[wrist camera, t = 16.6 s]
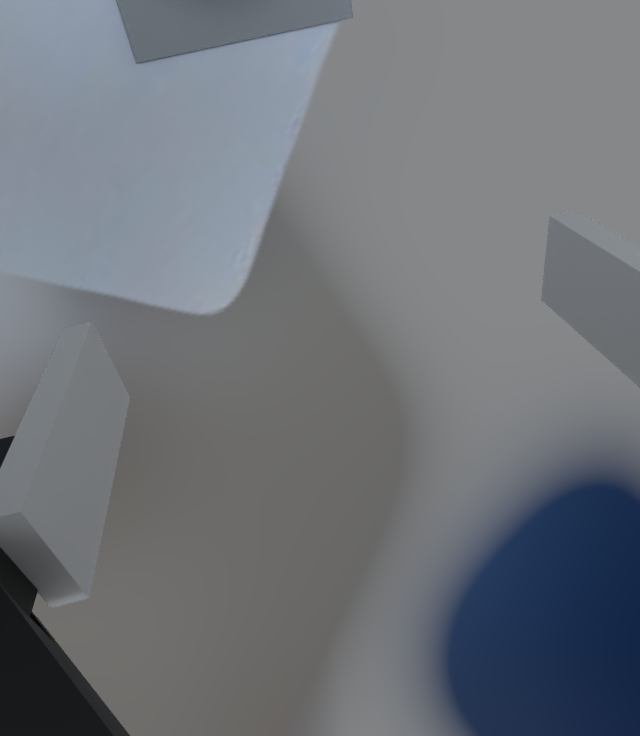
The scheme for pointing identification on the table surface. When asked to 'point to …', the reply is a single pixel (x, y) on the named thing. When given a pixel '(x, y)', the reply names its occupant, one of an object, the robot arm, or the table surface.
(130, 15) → the slate mat
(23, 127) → the table surface
